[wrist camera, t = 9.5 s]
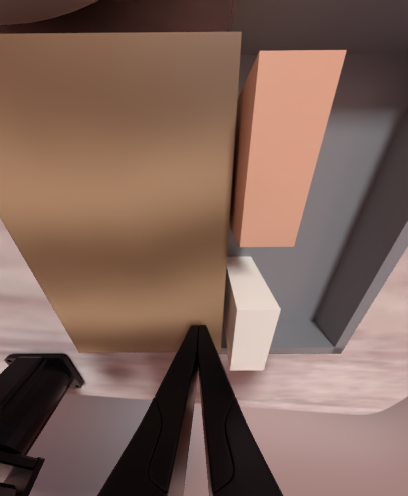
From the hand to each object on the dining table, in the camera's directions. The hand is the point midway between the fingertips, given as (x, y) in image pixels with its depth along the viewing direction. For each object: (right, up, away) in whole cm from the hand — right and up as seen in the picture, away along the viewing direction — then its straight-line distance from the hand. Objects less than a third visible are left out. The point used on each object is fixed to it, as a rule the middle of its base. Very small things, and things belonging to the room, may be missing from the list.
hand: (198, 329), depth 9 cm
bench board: (-4, +6, +3) cm, 7 cm away
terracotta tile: (+2, +8, -2) cm, 8 cm away
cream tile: (+2, +1, +2) cm, 3 cm away
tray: (+6, +6, +3) cm, 9 cm away
